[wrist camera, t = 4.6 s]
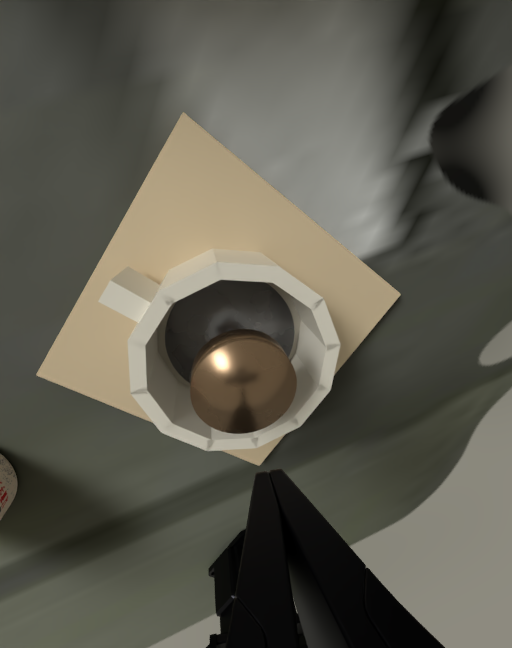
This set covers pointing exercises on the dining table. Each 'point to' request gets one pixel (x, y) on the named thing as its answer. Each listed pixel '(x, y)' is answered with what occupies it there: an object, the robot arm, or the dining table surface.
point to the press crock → (201, 271)
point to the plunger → (234, 354)
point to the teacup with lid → (6, 485)
